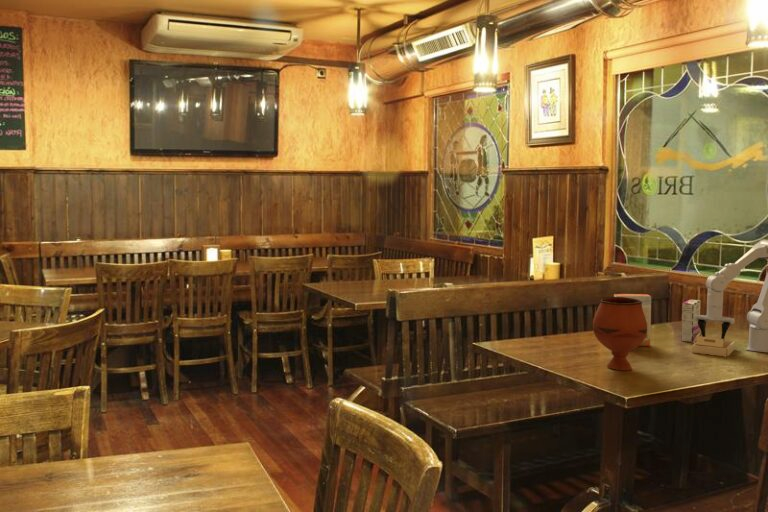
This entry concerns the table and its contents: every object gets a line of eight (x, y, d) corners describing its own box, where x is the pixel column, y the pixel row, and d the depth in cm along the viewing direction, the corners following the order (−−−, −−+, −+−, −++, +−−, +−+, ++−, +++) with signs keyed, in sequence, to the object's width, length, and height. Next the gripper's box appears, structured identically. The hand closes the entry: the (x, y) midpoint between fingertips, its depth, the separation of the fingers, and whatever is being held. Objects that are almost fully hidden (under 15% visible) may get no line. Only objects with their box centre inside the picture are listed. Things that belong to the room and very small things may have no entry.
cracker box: (646, 343, 318) (648, 293, 315) (650, 346, 312) (652, 296, 309) (612, 342, 319) (613, 293, 317) (615, 346, 313) (616, 295, 311)
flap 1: (704, 330, 312) (703, 330, 312) (697, 336, 301) (696, 335, 301) (700, 337, 313) (699, 336, 313) (693, 343, 302) (692, 342, 302)
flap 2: (697, 336, 301) (697, 336, 301) (723, 339, 296) (723, 339, 295) (696, 344, 300) (696, 343, 300) (722, 347, 295) (722, 347, 294)
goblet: (604, 358, 292) (606, 293, 289) (654, 366, 280) (657, 299, 277) (582, 368, 277) (584, 300, 274) (634, 377, 265) (637, 306, 262)
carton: (735, 349, 308) (735, 340, 307) (727, 357, 294) (728, 348, 294) (700, 345, 315) (701, 337, 315) (691, 352, 301) (692, 344, 301)
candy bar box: (687, 336, 331) (689, 299, 329) (699, 338, 328) (701, 300, 326) (680, 341, 322) (681, 302, 320) (692, 342, 319) (694, 303, 317)
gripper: (693, 305, 305) (691, 339, 306) (732, 309, 297) (731, 343, 298) (697, 303, 310) (695, 336, 312) (735, 306, 302) (734, 340, 304)
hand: (713, 339), depth 305 cm, fingers open, 6 cm apart
